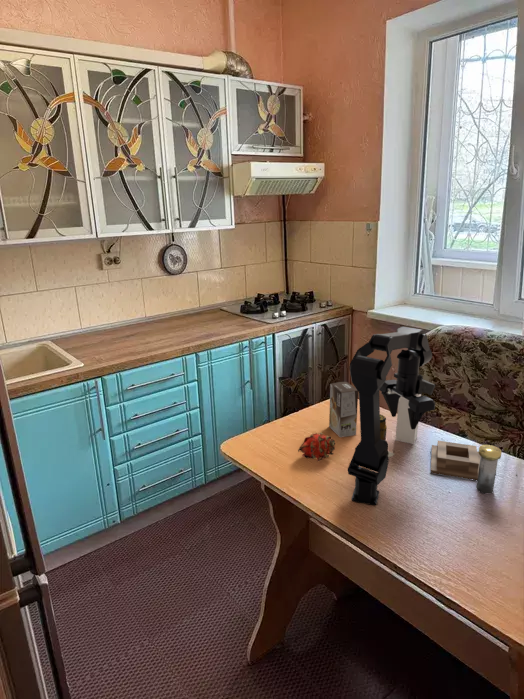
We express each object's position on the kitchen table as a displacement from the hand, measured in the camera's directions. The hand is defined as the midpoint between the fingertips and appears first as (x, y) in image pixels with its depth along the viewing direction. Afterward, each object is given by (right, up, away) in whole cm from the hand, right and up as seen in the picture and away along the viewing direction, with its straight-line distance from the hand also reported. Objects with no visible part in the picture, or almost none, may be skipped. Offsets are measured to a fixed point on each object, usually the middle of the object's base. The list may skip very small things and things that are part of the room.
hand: (403, 422), depth 142 cm
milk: (+7, -8, +19) cm, 22 cm away
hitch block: (+17, -13, +4) cm, 21 cm away
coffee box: (-14, -7, +25) cm, 29 cm away
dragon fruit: (-24, -12, +8) cm, 28 cm away
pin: (+19, -17, -9) cm, 27 cm away
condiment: (-5, -11, +10) cm, 16 cm away
